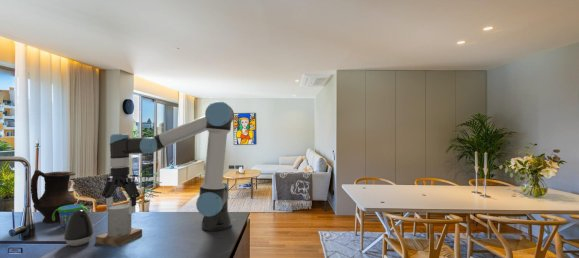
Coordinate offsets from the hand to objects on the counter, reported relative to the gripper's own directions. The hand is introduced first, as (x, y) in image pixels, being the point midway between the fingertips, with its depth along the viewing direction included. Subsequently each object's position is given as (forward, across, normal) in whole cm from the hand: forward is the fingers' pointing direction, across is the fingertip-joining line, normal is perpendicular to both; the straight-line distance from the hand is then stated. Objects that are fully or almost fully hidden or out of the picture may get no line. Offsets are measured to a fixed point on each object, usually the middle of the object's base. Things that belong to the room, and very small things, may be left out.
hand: (120, 212), depth 124 cm
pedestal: (+12, +1, 0) cm, 13 cm away
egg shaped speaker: (+12, +14, +9) cm, 21 cm away
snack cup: (+12, +43, -7) cm, 45 cm away
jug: (+12, +61, -10) cm, 63 cm away
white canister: (+10, +1, 0) cm, 10 cm away
